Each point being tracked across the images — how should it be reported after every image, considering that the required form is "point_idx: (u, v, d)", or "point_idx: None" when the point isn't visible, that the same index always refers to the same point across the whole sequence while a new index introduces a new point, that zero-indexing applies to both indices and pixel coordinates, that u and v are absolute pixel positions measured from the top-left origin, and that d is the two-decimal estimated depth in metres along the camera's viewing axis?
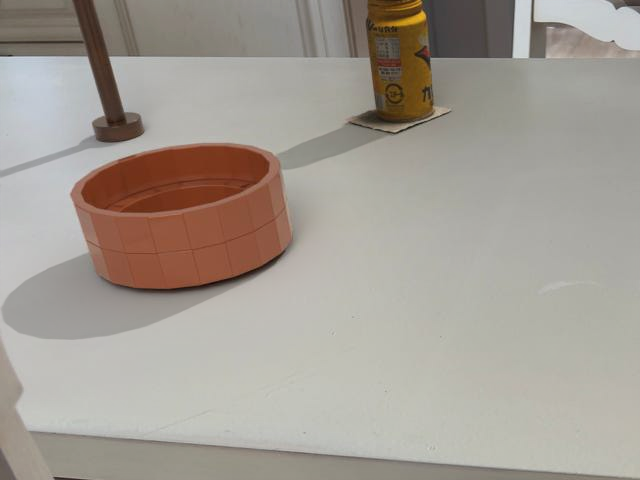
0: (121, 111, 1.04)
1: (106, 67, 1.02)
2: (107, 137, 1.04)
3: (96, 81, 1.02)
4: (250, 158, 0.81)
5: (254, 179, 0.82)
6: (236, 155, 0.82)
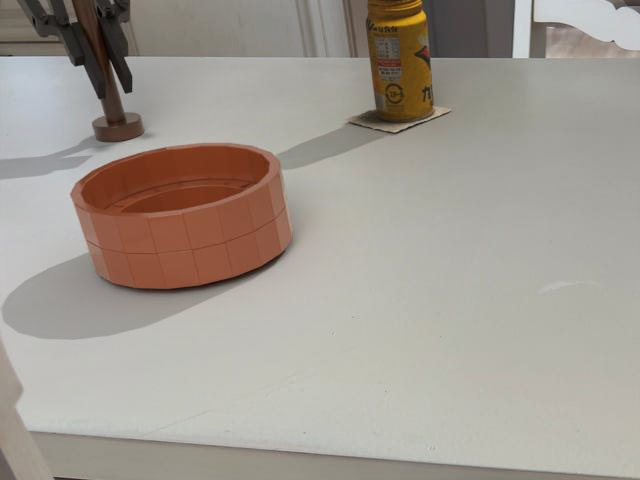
0: (121, 111, 1.04)
1: (106, 67, 1.02)
2: (107, 137, 1.04)
3: None
4: (250, 158, 0.81)
5: (254, 179, 0.82)
6: (236, 155, 0.82)
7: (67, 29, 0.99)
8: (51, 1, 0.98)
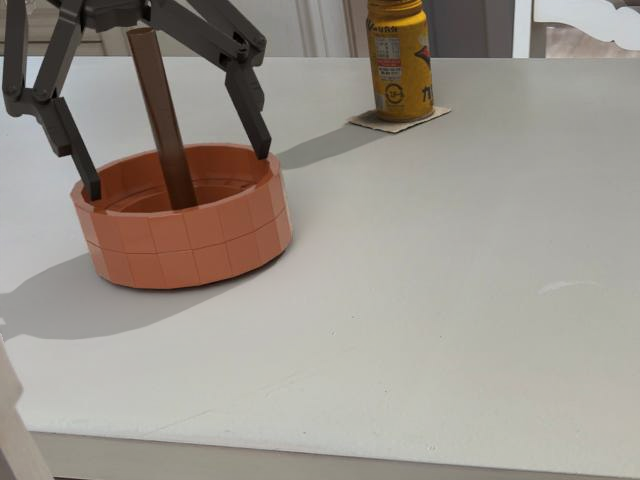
0: None
1: (181, 162, 0.76)
2: None
3: (166, 180, 0.76)
4: (250, 158, 0.81)
5: (254, 179, 0.82)
6: (236, 155, 0.82)
7: (48, 107, 0.71)
8: (41, 67, 0.71)
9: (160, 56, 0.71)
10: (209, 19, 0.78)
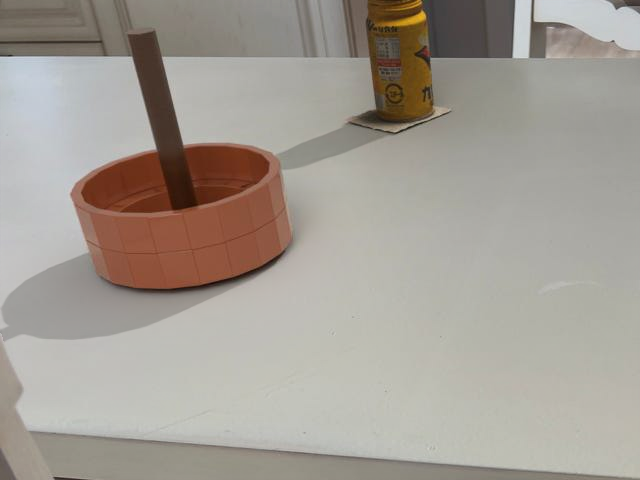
0: None
1: (181, 162, 0.76)
2: None
3: (166, 180, 0.76)
4: (250, 158, 0.81)
5: (254, 179, 0.82)
6: (236, 155, 0.82)
7: None
8: None
9: (160, 56, 0.71)
10: None
